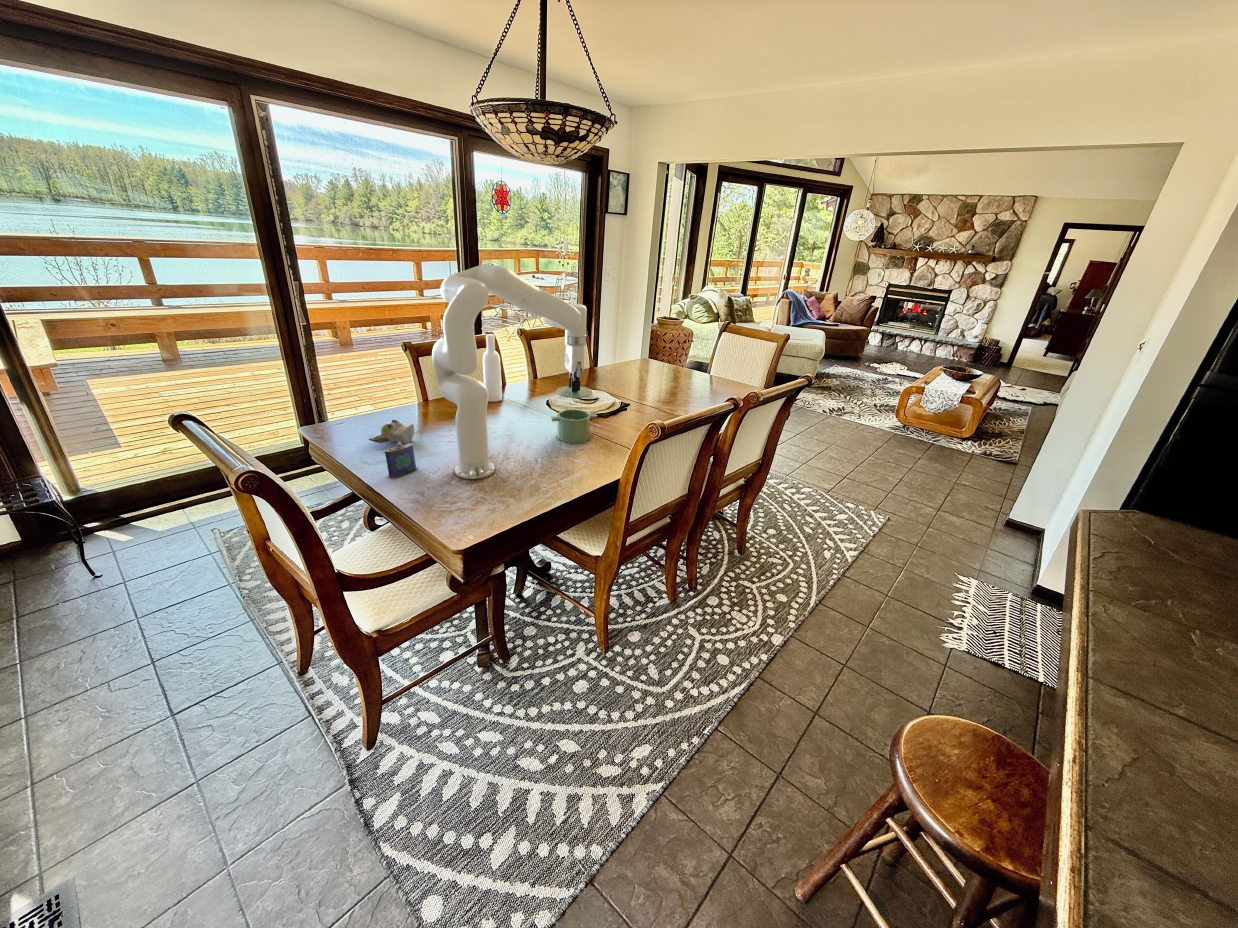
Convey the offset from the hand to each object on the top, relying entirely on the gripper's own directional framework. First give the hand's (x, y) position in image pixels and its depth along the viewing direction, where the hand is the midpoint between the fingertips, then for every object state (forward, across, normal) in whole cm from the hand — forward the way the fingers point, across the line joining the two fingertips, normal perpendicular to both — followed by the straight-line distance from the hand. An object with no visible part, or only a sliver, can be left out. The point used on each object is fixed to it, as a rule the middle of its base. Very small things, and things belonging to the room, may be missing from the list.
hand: (574, 389), depth 181 cm
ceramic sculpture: (+20, -11, -65) cm, 69 cm away
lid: (+1, 0, 0) cm, 1 cm away
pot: (+20, -1, 0) cm, 20 cm away
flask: (+20, +16, -62) cm, 67 cm away
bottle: (+20, -54, -24) cm, 62 cm away
